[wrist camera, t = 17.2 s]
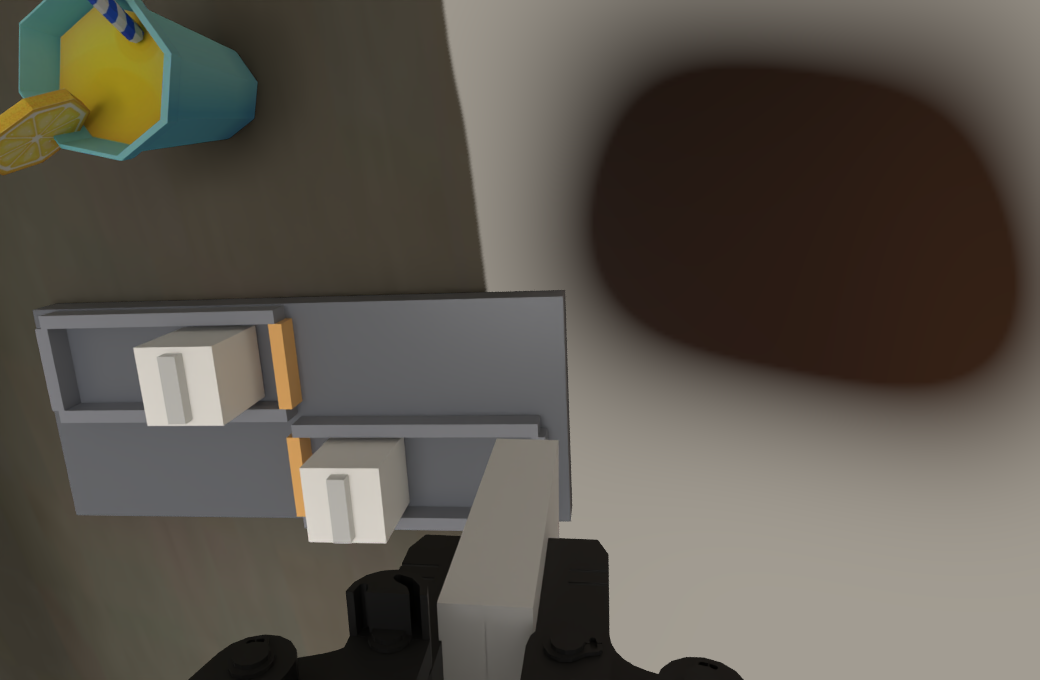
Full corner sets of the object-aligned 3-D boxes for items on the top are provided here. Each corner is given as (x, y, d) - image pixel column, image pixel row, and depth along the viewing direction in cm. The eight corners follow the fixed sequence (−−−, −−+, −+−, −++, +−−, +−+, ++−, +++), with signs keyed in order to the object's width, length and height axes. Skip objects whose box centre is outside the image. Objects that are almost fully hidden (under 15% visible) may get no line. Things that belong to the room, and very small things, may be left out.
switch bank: (56, 303, 47) (13, 315, 44) (564, 290, 43) (561, 301, 40) (96, 501, 50) (60, 526, 47) (572, 506, 46) (569, 533, 43)
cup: (218, -74, 40) (0, -202, 26) (336, 7, 40) (185, -74, 26) (118, 144, 44) (-122, 139, 30) (226, 217, 44) (41, 247, 30)
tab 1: (184, 326, 44) (124, 351, 39) (255, 325, 44) (204, 349, 38) (196, 396, 45) (139, 430, 40) (265, 396, 45) (217, 430, 39)
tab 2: (332, 434, 45) (294, 473, 39) (403, 434, 44) (374, 473, 39) (340, 501, 46) (304, 548, 40) (409, 501, 45) (382, 549, 40)
